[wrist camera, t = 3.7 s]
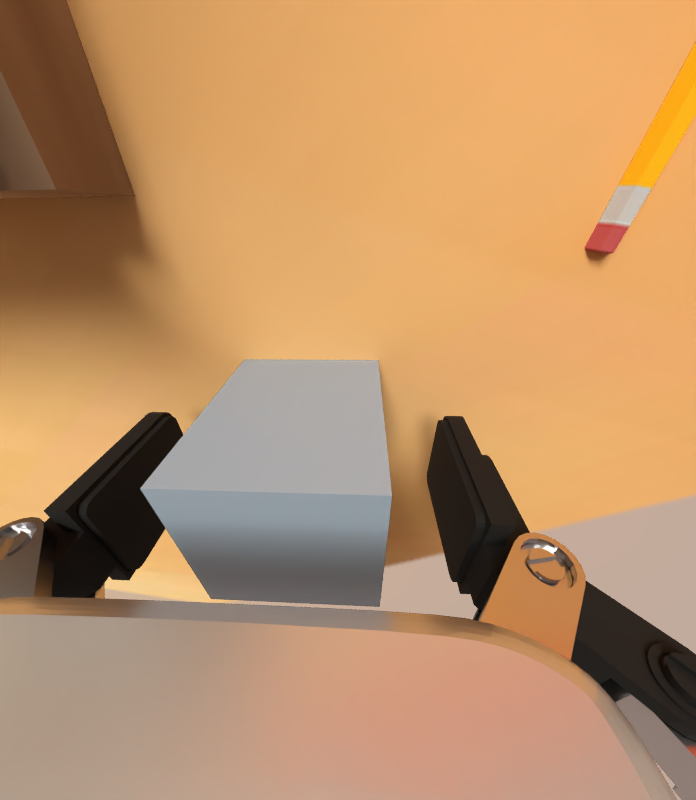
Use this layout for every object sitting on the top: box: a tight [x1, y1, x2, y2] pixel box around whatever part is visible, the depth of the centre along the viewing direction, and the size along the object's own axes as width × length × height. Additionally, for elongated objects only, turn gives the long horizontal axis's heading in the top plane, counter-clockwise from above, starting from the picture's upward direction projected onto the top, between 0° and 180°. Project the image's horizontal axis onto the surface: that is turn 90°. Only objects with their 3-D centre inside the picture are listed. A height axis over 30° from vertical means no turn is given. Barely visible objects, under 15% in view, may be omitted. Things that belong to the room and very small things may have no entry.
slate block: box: [140, 359, 392, 607], centre depth 9 cm, size 5×5×6 cm
